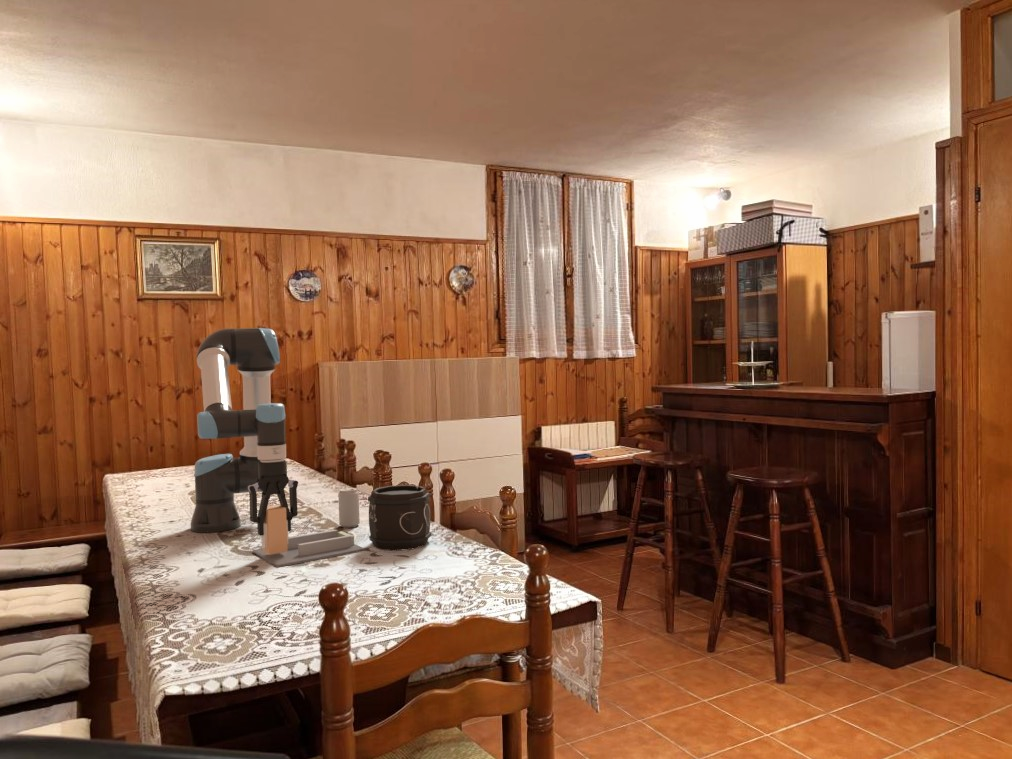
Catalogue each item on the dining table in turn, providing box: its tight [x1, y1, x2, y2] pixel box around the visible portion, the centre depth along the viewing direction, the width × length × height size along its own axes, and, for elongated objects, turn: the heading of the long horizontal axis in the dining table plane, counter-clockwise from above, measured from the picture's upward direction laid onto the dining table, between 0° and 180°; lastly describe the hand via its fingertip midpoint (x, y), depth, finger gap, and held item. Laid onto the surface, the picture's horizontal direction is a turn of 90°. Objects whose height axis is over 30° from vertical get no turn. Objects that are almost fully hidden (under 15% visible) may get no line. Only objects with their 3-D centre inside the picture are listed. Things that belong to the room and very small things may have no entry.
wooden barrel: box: [367, 484, 432, 551], centre depth 219 cm, size 18×18×16 cm
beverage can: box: [337, 487, 361, 529], centre depth 243 cm, size 6×6×12 cm
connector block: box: [262, 504, 288, 555], centre depth 206 cm, size 5×5×12 cm
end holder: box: [252, 529, 366, 568], centre depth 212 cm, size 20×25×4 cm
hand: (275, 544), depth 206 cm, fingers closed on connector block, 5 cm apart
